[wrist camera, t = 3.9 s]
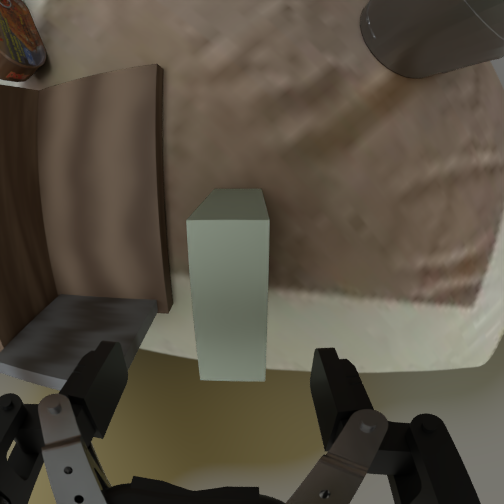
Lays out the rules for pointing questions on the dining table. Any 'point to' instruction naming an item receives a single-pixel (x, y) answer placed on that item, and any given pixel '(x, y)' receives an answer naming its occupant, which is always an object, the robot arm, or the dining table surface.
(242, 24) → the dining table surface
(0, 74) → the tin
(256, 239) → the sage green tall block
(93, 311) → the bookshelf
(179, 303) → the dining table surface
